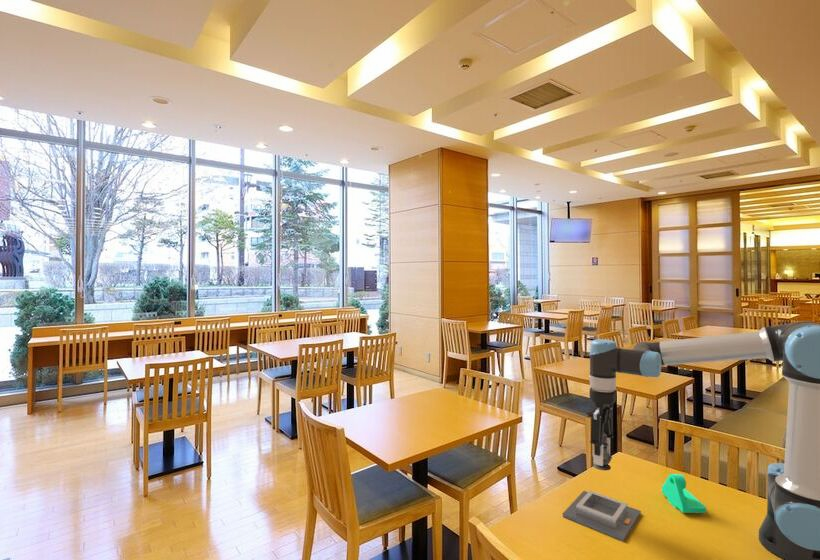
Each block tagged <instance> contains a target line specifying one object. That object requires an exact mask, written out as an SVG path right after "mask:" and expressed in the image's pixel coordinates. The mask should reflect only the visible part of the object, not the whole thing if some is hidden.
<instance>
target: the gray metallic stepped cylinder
mask: <svg viewBox="0 0 820 560" xmlns="http://www.w3.org/2000/svg"><path fill="white" fill-rule="evenodd" d="M602 445H603V466H600V465H597V464H593V463H592V467H594V469H596V470H600V471H610V470H611V469H612V466H611V465H609V464H610V463H611V460H612V459H613V456H612V454H611V453H610V454H608V453H607V446H608V443H607V434H606V433H604V432H603V440H602ZM591 456H592V457H593V451H592V453H591Z"/></svg>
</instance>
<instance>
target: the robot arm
mask: <svg viewBox="0 0 820 560" xmlns="http://www.w3.org/2000/svg"><path fill="white" fill-rule="evenodd" d="M757 359H767V360H769V361H771V362H780V361H781V362H782V363H781V364H782V365H781V377H783V378H784V379H785V380H786V381H787V382H788V383H789V384H788V397H787V399H788V400H787V413H786V416H787V417H786V431H785V432H786V433H785V445H784V447H785V448H784V463H782V462H773V463H772V462H771V463H770V464H769V465H768V466H767V472H766V474H767V493H766V497H767V499H766V500H767V501H766V502H767V503H766V515H765V517H764V519H763V521H762V523H761V525H760V527H759V529H758V540H759V543H760V545H762V547H764V549H766V550H767V551H768V552H770V553H771V554H773V555H774V556H777V557H779V558H780V559H782V560H784V559H785V560H820V322H816V321H810V320H805V321H803V320H802V321H796V322H795V321H794V322H790V323H789V322H788V323H785V324H777V325H772V326H771V325H770V326H763V327H762V328H760V330H757V331H751V332H750V331H749V332H741V333H733V334H732V333H730V334H720V335H711V336H702V337H701V336H700V337H693V338H683V339H682V338H681V339H673V340H663V341H654V342H649V341H640V342H638V343H636V344H635V345H634V346H633V348H632V349H630V348H622V347H618V346H617V342H616V341H614V340H611V339H605V338H603V339H601V338H600V339H599V338H598V339H593V340H592V341H591V342H590V347H589V376H588V377H587V378H588V379H589V387H590V388H589V400H590V401H591V402H592V403H594V404H595V405H594V407H593V411H591V412H590V419H591V422H590V423H591V424H590V426H591V428H590V441H589V443H590V444H592V445H593V450H592V452H593V456H592V459H593V463H592V465H593V464H597V465H600V466H603V445H602V440H603V432H604V433H606V434H607V443H608V446H607V453H608V454H610V455H611V439H613V438H614V435H613V433H614V432H613V431H614V426H613V425H614V424H613V422H614V421H613V419H614V418H613V417H614V416H613V412H614V410H613V409H614V403H616V401H617V397H616V394H617V392H616V389H617V373H620V374H626V375H627V374H628V375H634V376H641V377H645V378H659V377H660V376H661V374H662V373H661V372H662V366H673V365H686V364H689V365H690V364H700V363H701V364H702V363H711V362H712V363H715V362H727V361H730V362H731V361H743V360H757Z"/></svg>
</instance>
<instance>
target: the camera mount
mask: <svg viewBox="0 0 820 560" xmlns="http://www.w3.org/2000/svg"><path fill="white" fill-rule="evenodd" d="M686 487H687V481H686V478H685V476H684V475H683V474H681V473H669V474H668V476H667V478H666V479H665V482H664V483H663V485H662V486H661V493H662V494H663V495H664V496H665V497H666V498H667V502H669V503H670V504H671V506H672V507H674V508H675V509H676V510H680V511H681V512H682V513H686V514H687V513H689V514H691V513H692V514H693V513H694V514H706V513H707V506H706V505H705V504H703V503H702V502H701V501H700V500H699V499H698V498H697V497H695V496H694V495H693V494H692V493H691V492H690V491H688V490H687V489H686Z"/></svg>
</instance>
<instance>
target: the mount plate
mask: <svg viewBox="0 0 820 560" xmlns="http://www.w3.org/2000/svg"><path fill="white" fill-rule="evenodd" d="M641 515H642V511H641V510H639V509H637V508H633V507H631V506H629V504H628V503H626V502H624V501H622V500H621V501H620V500H618V499H616V498H612V497H609V496H607V495H604V494H601V493H598V492H595V491H592V490H589V491H586V490H583V491H582V492H581V493H580V494H579V495H578V496H577V497H576V499H575V500H574V501H573V502H572V503H571V504H570V505H569V506H568V507H567V508H566V509H565V511H563V513H562V517H563V518H565V519H567V520H570V521H572V522H575V523H578V524H580V525H582V526H585V527H587V528H589V529H592V530H594V531H597V532H600V533H602V534H604V535H606V536H609V537H611V538H614V539H617V540H619V541H621V542H625V541H626V539H627V537H628V536H629V534H630V532H631V531H632V529H633V527H634V526H635V524H636V523H637V521H638V520H639V518H640V516H641Z"/></svg>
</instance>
